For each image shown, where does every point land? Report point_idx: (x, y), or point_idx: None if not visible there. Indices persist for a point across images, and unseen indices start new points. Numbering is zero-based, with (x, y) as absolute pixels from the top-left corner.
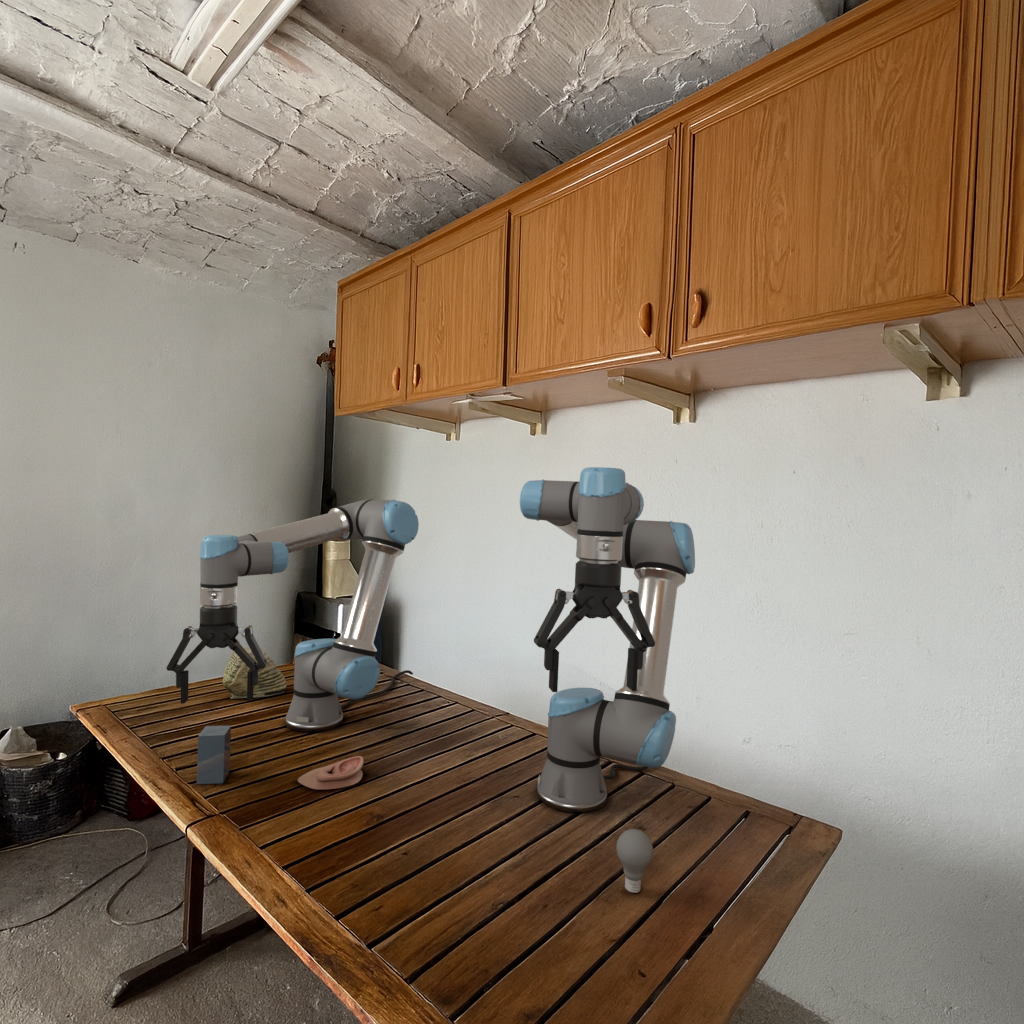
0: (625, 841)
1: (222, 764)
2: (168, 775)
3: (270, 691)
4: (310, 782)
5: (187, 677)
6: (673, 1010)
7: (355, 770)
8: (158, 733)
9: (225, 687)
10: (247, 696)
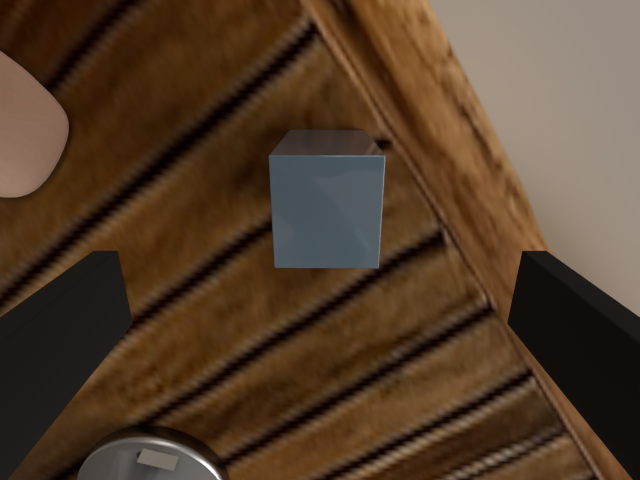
0: None
1: (287, 137)
2: (456, 200)
3: None
4: (4, 73)
5: (623, 431)
6: None
7: None
8: (526, 447)
9: None
10: (96, 266)
